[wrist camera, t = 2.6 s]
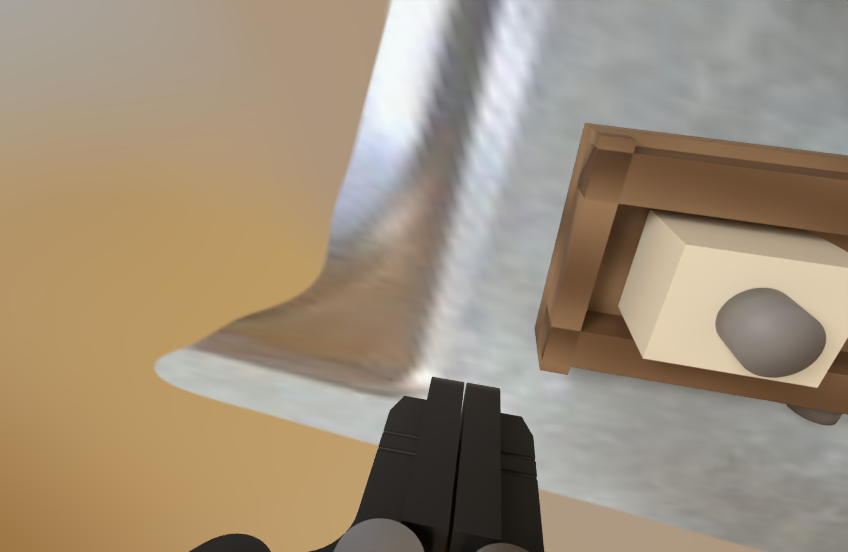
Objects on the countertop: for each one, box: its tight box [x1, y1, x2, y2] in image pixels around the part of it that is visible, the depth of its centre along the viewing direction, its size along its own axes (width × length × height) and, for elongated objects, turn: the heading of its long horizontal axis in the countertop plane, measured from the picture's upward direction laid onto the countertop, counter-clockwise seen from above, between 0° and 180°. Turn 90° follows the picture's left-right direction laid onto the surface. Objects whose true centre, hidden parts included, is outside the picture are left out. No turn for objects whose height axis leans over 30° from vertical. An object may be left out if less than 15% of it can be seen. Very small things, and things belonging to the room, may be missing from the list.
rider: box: [618, 209, 848, 388], centre depth 17 cm, size 4×6×6 cm
